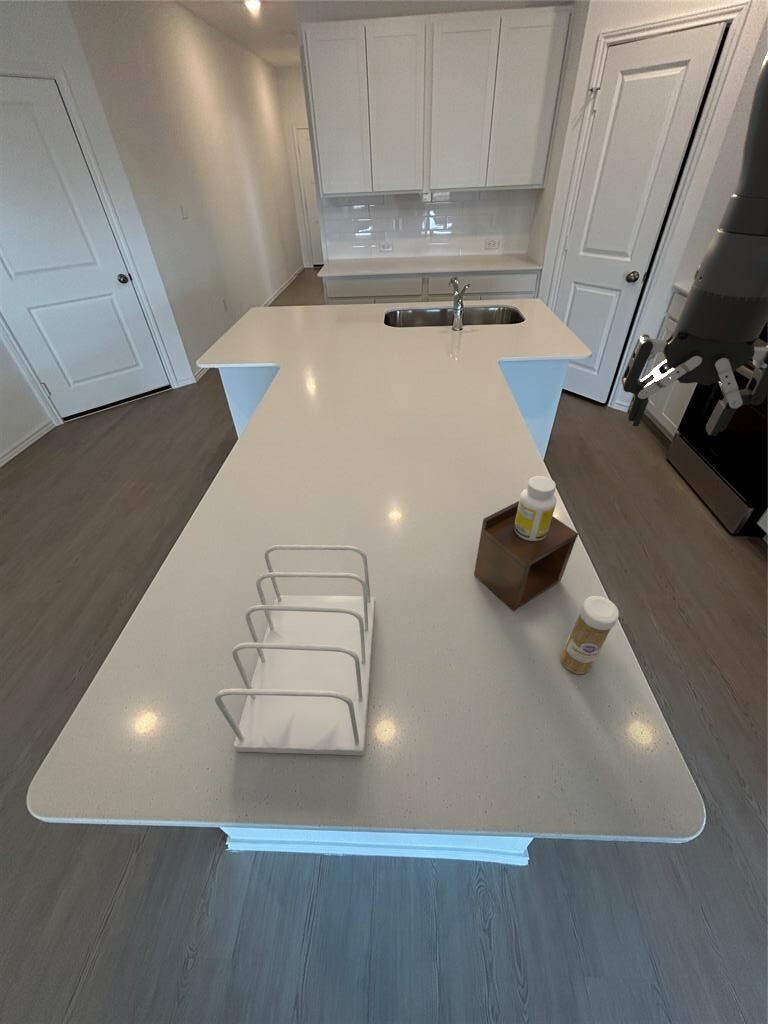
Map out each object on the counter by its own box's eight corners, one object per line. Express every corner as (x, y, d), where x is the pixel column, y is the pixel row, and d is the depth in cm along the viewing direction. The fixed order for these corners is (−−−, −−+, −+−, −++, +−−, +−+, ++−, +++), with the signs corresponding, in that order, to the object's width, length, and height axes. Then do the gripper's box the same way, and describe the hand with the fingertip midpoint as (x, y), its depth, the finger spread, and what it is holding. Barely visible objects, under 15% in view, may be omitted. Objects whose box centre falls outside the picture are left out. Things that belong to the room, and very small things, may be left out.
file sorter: (277, 601, 78) (259, 538, 68) (375, 603, 77) (371, 539, 67) (235, 752, 59) (201, 695, 49) (364, 756, 58) (357, 700, 48)
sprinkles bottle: (565, 676, 66) (591, 622, 57) (555, 649, 69) (578, 595, 61) (596, 674, 66) (626, 621, 57) (584, 648, 69) (611, 593, 61)
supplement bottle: (546, 522, 74) (560, 475, 68) (547, 544, 70) (562, 496, 64) (513, 518, 75) (523, 471, 69) (513, 539, 71) (524, 492, 65)
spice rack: (560, 581, 80) (581, 524, 71) (513, 611, 75) (529, 554, 66) (519, 548, 86) (534, 492, 77) (473, 574, 81) (483, 518, 72)
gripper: (664, 289, 43) (611, 435, 53) (840, 298, 39) (747, 452, 50) (652, 271, 48) (607, 407, 59) (806, 278, 45) (728, 420, 55)
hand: (671, 427), depth 54 cm, fingers open, 8 cm apart
